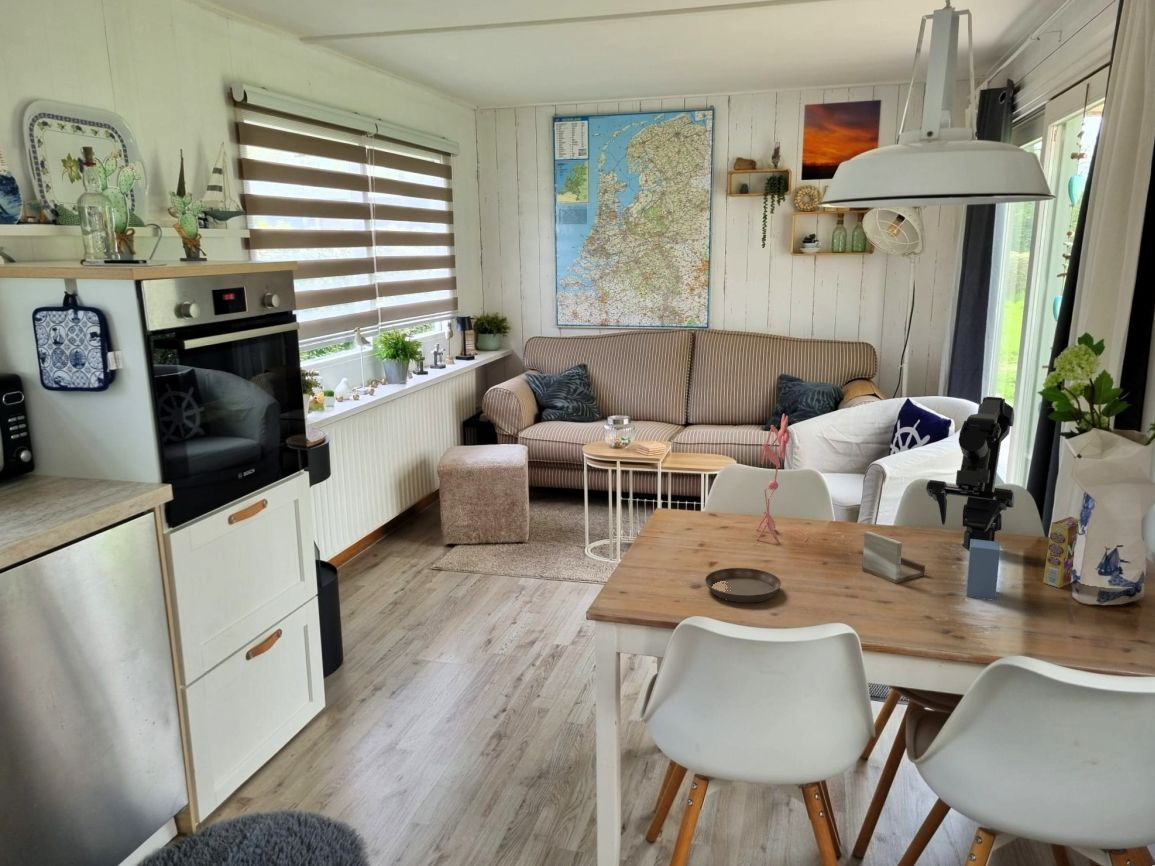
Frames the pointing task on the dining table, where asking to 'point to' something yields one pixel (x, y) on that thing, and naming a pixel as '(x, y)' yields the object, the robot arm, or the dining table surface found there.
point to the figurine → (773, 485)
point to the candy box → (1061, 552)
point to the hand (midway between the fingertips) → (963, 527)
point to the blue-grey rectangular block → (983, 569)
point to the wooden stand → (888, 559)
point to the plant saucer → (744, 584)
